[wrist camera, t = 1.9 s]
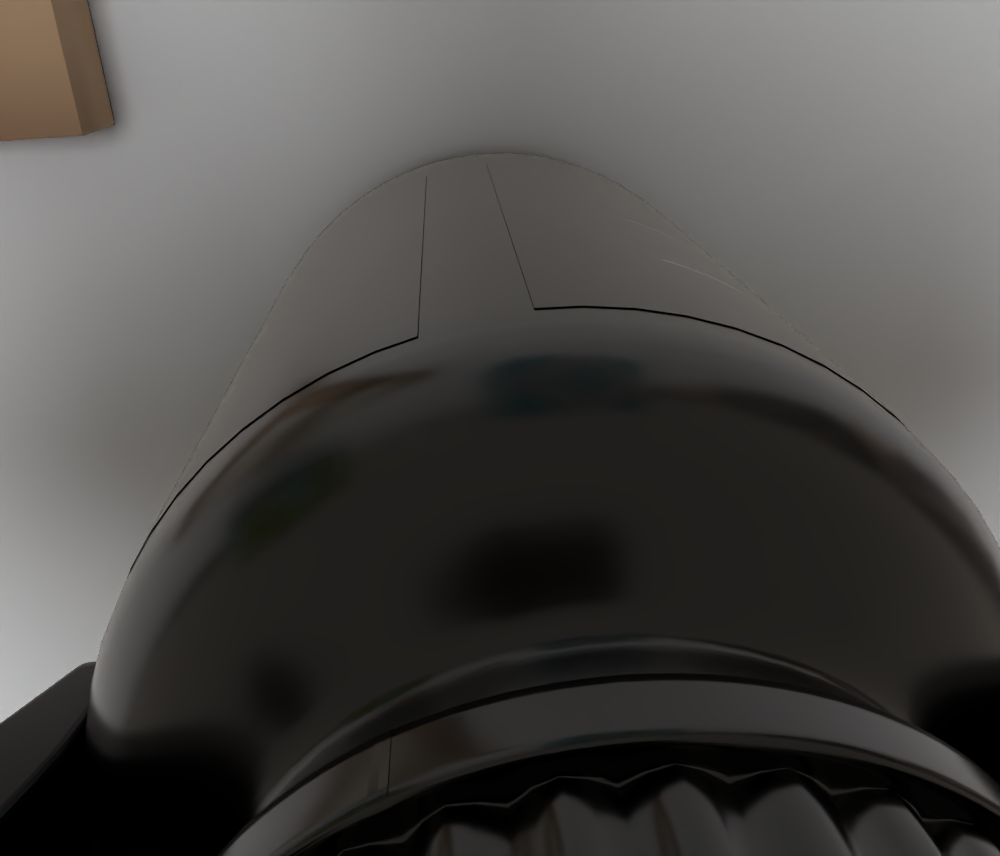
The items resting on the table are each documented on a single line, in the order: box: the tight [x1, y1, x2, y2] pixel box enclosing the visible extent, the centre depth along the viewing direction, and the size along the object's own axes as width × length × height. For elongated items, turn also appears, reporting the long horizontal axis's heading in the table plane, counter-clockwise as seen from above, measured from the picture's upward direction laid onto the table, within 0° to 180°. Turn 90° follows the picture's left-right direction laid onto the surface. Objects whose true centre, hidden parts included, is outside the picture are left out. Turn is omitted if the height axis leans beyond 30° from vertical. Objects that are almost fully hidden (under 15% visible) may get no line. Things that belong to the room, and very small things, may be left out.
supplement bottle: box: [86, 153, 1000, 856], centre depth 9 cm, size 7×7×12 cm
